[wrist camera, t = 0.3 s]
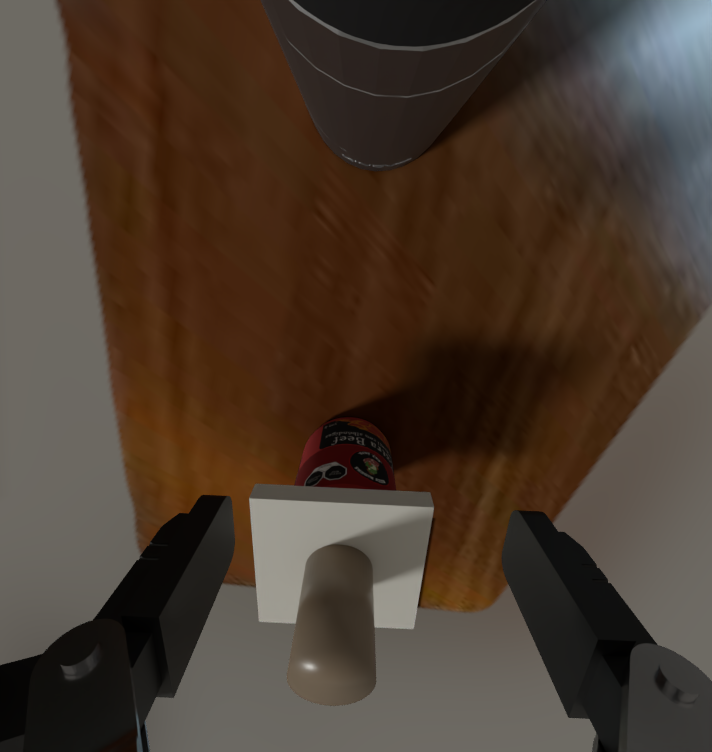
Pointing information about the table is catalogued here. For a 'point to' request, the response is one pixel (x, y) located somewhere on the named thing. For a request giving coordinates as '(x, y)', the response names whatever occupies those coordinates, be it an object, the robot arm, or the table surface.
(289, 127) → the table surface
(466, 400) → the table surface
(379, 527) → the lid
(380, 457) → the canned food
